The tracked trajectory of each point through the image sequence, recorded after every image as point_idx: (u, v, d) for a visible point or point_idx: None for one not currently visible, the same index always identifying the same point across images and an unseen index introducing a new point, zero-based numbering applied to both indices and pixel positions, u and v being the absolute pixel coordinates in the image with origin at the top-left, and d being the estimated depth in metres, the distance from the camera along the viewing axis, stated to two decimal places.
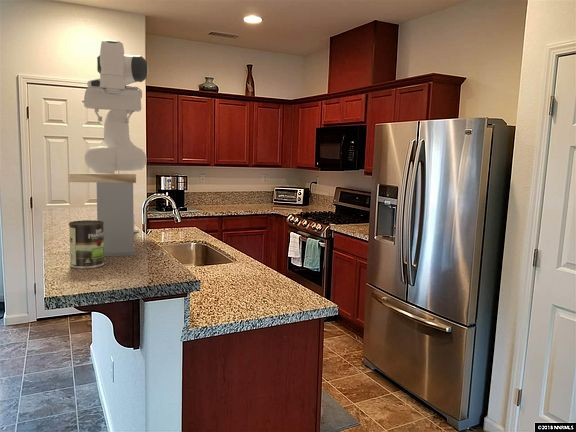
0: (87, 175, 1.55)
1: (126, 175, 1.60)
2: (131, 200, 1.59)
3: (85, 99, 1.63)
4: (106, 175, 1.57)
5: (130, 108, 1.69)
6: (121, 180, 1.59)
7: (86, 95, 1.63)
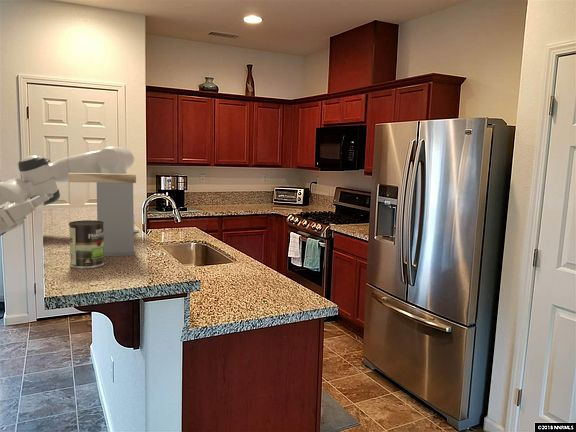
0: (87, 175, 1.55)
1: (126, 175, 1.60)
2: (131, 200, 1.59)
3: (18, 204, 1.43)
4: (106, 175, 1.57)
5: (35, 196, 1.58)
6: (121, 180, 1.59)
7: (14, 205, 1.43)
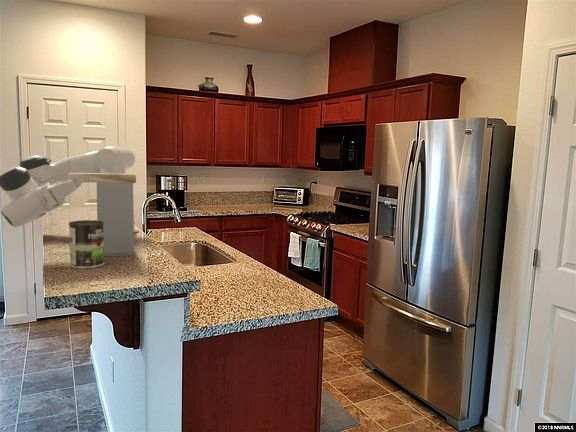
0: (87, 175, 1.55)
1: (126, 175, 1.60)
2: (131, 200, 1.59)
3: (61, 183, 1.46)
4: (106, 175, 1.57)
5: None
6: (121, 180, 1.59)
7: (57, 185, 1.46)
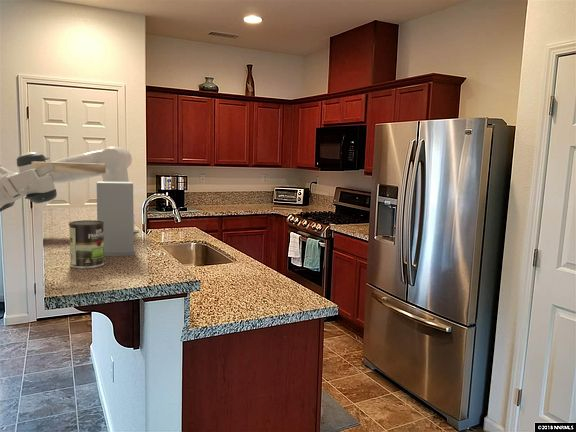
0: (52, 164, 1.46)
1: (94, 164, 1.50)
2: (131, 200, 1.59)
3: (21, 172, 1.37)
4: (73, 164, 1.48)
5: None
6: (89, 169, 1.50)
7: (17, 174, 1.37)
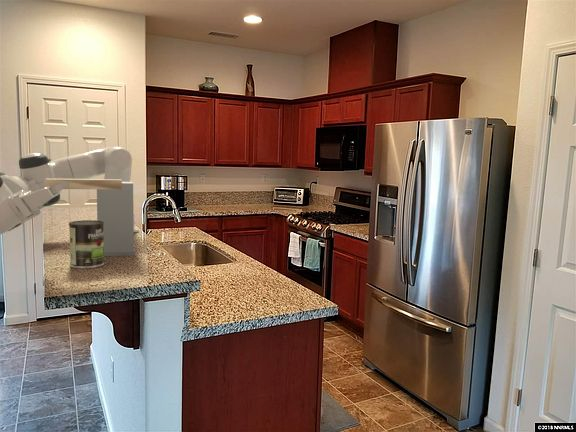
0: (66, 181, 1.39)
1: (110, 181, 1.43)
2: (131, 200, 1.59)
3: (35, 191, 1.29)
4: (88, 181, 1.41)
5: None
6: (105, 186, 1.43)
7: (30, 193, 1.29)
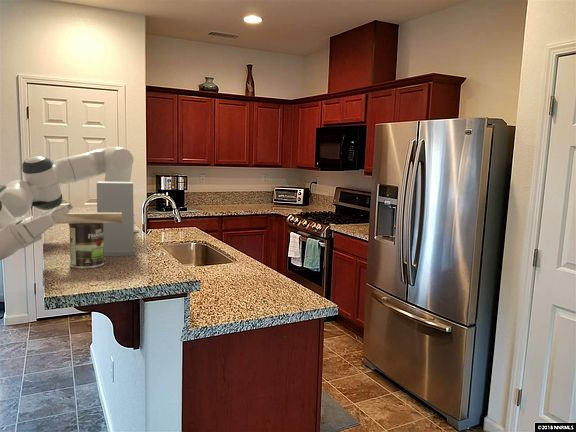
0: (67, 216, 1.41)
1: (111, 214, 1.45)
2: (131, 200, 1.59)
3: (37, 218, 1.31)
4: (88, 215, 1.42)
5: (53, 208, 1.46)
6: (105, 220, 1.44)
7: (32, 219, 1.31)
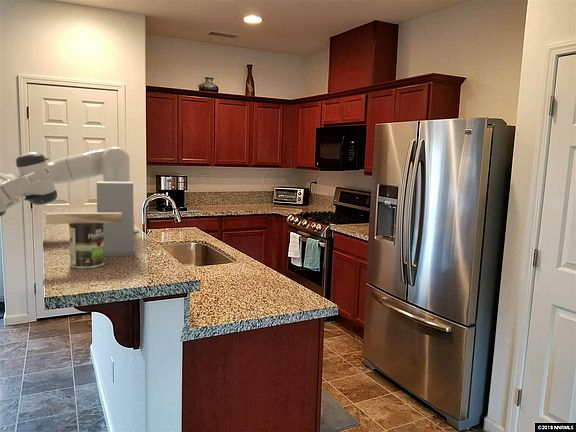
0: (67, 216, 1.40)
1: (111, 214, 1.45)
2: (131, 200, 1.59)
3: (14, 179, 1.32)
4: (88, 215, 1.42)
5: None
6: (105, 219, 1.44)
7: (9, 181, 1.32)
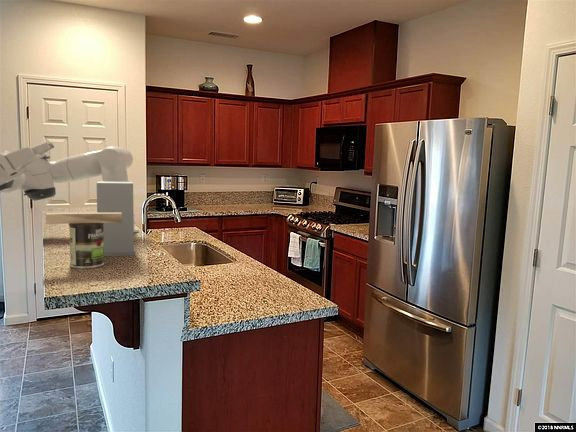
0: (67, 216, 1.40)
1: (111, 214, 1.45)
2: (131, 200, 1.59)
3: None
4: (88, 215, 1.43)
5: None
6: (105, 219, 1.44)
7: (14, 151, 1.37)
